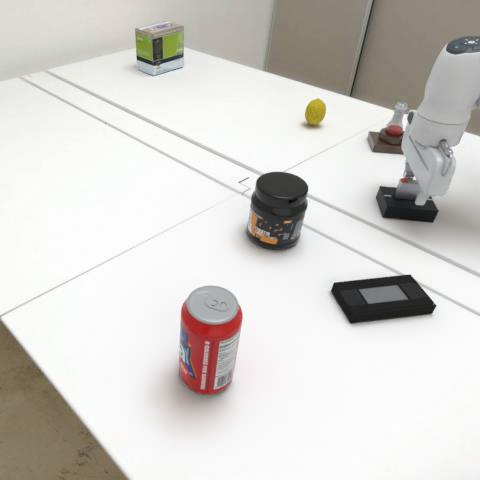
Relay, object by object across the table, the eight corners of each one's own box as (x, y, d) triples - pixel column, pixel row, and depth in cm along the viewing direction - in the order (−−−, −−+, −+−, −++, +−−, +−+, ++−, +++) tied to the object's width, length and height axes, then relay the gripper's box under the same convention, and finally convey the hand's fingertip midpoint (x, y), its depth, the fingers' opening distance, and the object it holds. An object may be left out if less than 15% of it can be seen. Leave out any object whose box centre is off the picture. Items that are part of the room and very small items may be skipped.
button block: (405, 141, 123) (410, 127, 121) (412, 155, 117) (418, 141, 115) (366, 138, 125) (371, 124, 122) (372, 152, 119) (376, 138, 116)
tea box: (166, 61, 177) (166, 19, 168) (184, 67, 171) (185, 25, 162) (136, 69, 169) (134, 26, 160) (153, 76, 163) (152, 32, 154)
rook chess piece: (389, 126, 131) (398, 99, 126) (404, 131, 128) (414, 104, 123) (381, 130, 129) (390, 103, 124) (396, 136, 126) (406, 108, 121)
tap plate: (423, 201, 101) (428, 189, 99) (433, 222, 95) (439, 210, 93) (375, 197, 102) (380, 185, 100) (382, 218, 96) (387, 205, 94)
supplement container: (235, 233, 92) (241, 182, 85) (268, 213, 97) (277, 164, 90) (276, 259, 86) (287, 207, 78) (310, 237, 91) (323, 185, 84)
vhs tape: (330, 290, 79) (333, 282, 78) (406, 282, 81) (410, 274, 80) (350, 323, 74) (353, 315, 72) (432, 313, 75) (436, 305, 74)
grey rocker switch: (421, 197, 97) (428, 179, 94) (423, 201, 96) (430, 183, 93) (393, 194, 98) (400, 177, 95) (395, 198, 96) (402, 181, 94)
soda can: (224, 406, 62) (235, 335, 53) (170, 387, 65) (172, 316, 55) (238, 361, 68) (250, 290, 59) (188, 346, 70) (192, 275, 61)
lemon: (301, 128, 130) (307, 100, 125) (303, 120, 134) (309, 93, 129) (321, 130, 129) (328, 103, 124) (323, 122, 133) (329, 96, 128)
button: (399, 131, 120) (401, 125, 119) (402, 137, 117) (404, 131, 116) (384, 130, 120) (386, 124, 119) (387, 136, 118) (389, 130, 117)
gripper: (474, 156, 78) (443, 221, 87) (439, 109, 94) (416, 167, 103) (434, 154, 79) (408, 218, 88) (406, 107, 95) (386, 165, 104)
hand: (412, 190), depth 95 cm, fingers open, 8 cm apart
